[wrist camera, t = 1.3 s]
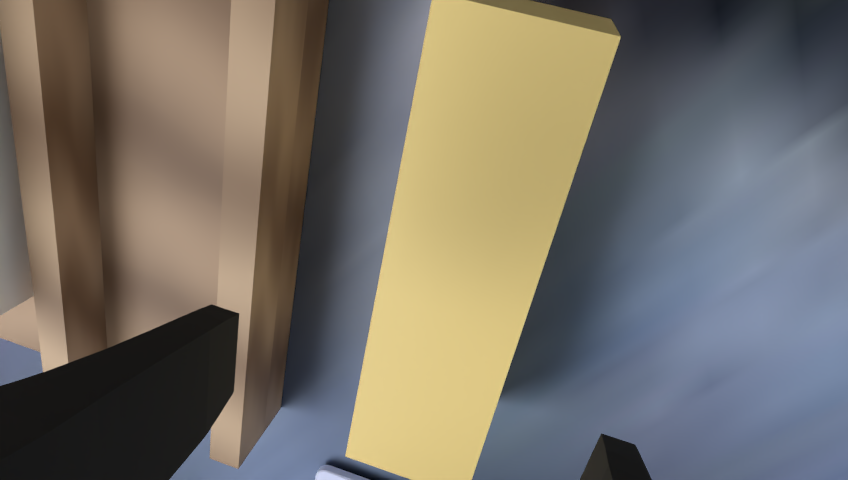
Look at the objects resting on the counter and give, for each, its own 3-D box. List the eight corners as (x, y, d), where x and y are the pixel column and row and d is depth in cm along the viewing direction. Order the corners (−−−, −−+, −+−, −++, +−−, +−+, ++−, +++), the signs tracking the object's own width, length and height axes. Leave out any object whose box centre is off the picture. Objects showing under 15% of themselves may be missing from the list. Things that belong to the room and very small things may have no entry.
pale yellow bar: (488, 395, 23) (465, 498, 18) (390, 363, 23) (345, 456, 19) (611, 18, 16) (620, 36, 12) (472, -14, 17) (433, -8, 12)
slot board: (280, 408, 25) (238, 468, 22) (-27, 300, 27) (-105, 342, 24) (354, -214, 15) (296, -261, 12) (-138, -311, 17) (-294, -372, 14)
